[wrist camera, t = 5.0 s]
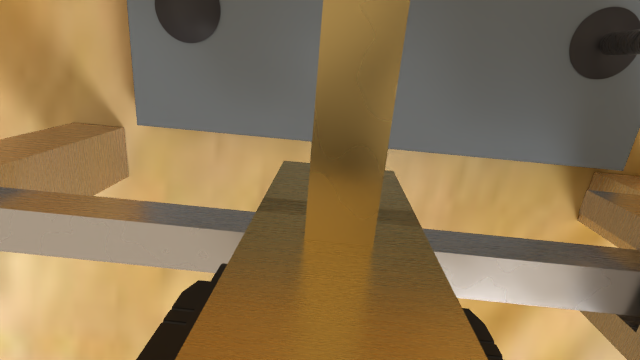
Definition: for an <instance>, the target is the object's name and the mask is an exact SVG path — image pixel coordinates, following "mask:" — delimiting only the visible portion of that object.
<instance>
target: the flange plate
mask: <svg viewBox="0 0 640 360" xmlns="http://www.w3.org/2000/svg"><path fill="white" fill-rule="evenodd" d="M127 8H128V20H129V32H130V44H131V56H132V68H133V80H134V92H135V104H136V116H137V125H143V126H154V127H164V128H175V129H185V130H196V131H207V132H217V133H228V134H238V135H249V136H260V137H270V138H281V139H291V140H302V141H312V135H313V123H314V110H315V97H316V85H317V72H318V59H319V47H320V34H321V22H322V9H323V0H127ZM638 29H640V0H410V6H409V12H408V19H407V25H406V32H405V39H404V45H403V52H402V59H401V65H400V72H399V78H398V85H397V92H396V98H395V105H394V111H393V118H392V125H391V131H390V138H389V144H388V149H397V150H408V151H418V152H429V153H439V154H450V155H461V156H471V157H482V158H492V159H503V160H514V161H524V162H535V163H545V164H556V165H567V166H577V167H588V168H598V169H609V170H619V171H623V170H624V167H625V165H626V162H627V159H628V157H629V154H630V151H631V149H632V146H633V144H634V141H635V138H636V136H637V133H638V130H639V128H640V55H604V54H603V53H602V52H601V51H600V42H601V40H602V39H603V37H604V36H605V35H607V34H609V33H611V32H620V31H629V30H638Z"/></svg>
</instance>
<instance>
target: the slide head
mask: <svg viewBox="0 0 640 360" xmlns="http://www.w3.org/2000/svg"><path fill="white" fill-rule="evenodd" d="M409 6H410V0H323V9H322V22H321V34H320V47H319V59H318V72H317V85H316V97H315V110H314V123H313V135H312V148H311V161H310V163H302V162H291V161H284V162H283V164H282V166H281V167H280V169H279V171H278V173H277V175H276V177H275V178H274V180H273V182H272V184H271V186H270V188H269V189H268V191H267V193H266V195H265V197H264V198H263V200H262V202H261V204H260V206H259V208H258V209H257V211H256V213H255V215H254V217H253V218H252V220H251V222H250V224H249V226H248V228H247V229H246V231H245V233H244V235H243V237H242V239H241V240H240V242H239V244H238V246H237V248H236V249H235V251H234V253H233V255H232V257H231V259H230V260H229V262H228V264H227V266H226V268H225V269H224V271H223V273H222V275H221V277H220V279H219V280H218V282H217V284H216V286H215V288H214V289H213V291H212V293H211V295H210V297H209V299H208V300H207V302H206V304H205V306H204V308H203V310H202V311H201V313H200V315H199V317H198V319H197V320H196V322H195V324H194V326H193V328H192V330H191V331H190V333H189V335H188V337H187V339H186V340H185V342H184V344H183V346H182V348H181V350H180V351H179V353H178V355H177V357H176V359H175V360H488V359H487V357H486V355H485V353H484V351H483V349H482V347H481V345H480V343H479V341H478V339H477V337H476V335H475V333H474V331H473V329H472V327H471V325H470V323H469V321H468V319H467V317H466V315H465V313H464V311H463V309H462V307H461V305H460V303H459V301H458V299H457V297H456V295H455V293H454V291H453V289H452V287H451V285H450V283H449V281H448V279H447V277H446V275H445V273H444V271H443V269H442V267H441V265H440V263H439V261H438V259H437V257H436V255H435V253H434V251H433V249H432V247H431V245H430V243H429V241H428V239H427V237H426V235H425V233H424V231H423V229H422V227H421V225H420V223H419V221H418V219H417V217H416V215H415V213H414V211H413V209H412V207H411V205H410V203H409V202H408V200H407V198H406V196H405V194H404V192H403V190H402V188H401V186H400V184H399V182H398V180H397V178H396V176H395V174H394V172H393V171H385V164H386V158H387V151H388V144H389V138H390V131H391V125H392V118H393V111H394V105H395V98H396V92H397V85H398V78H399V72H400V65H401V59H402V52H403V45H404V39H405V32H406V25H407V19H408V12H409Z"/></svg>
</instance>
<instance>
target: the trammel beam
mask: <svg viewBox="0 0 640 360" xmlns="http://www.w3.org/2000/svg"><path fill="white" fill-rule="evenodd" d="M600 51H601V52H602V53H603V54H604V55H640V29H638V30H629V31H620V32H611V33H609V34H607V35H605V36H604V37H603V39H602V40H601V42H600ZM127 177H128V167H127V156H126V146H125V135H124V128H123V127H112V126H102V125H91V124H80V123H70V124H65V125H61V126H57V127H52V128H48V129H44V130H39V131H35V132H31V133H26V134H22V135H17V136H13V137H9V138H4V139H0V251H5V252H15V253H25V254H35V255H44V256H54V257H64V258H74V259H83V260H93V261H103V262H113V263H122V264H132V265H142V266H152V267H161V268H171V269H181V270H191V271H200V272H210V273H216V272H217V270H218V268H219V267H220V265H221V264H222V263H225V264H228V262H229V260H230V259H231V257H232V255H233V253H234V251H235V249H236V248H237V246H238V244H239V242H240V240H241V239H242V237H243V235H244V233H245V231H246V229H247V228H248V226H249V224H250V222H251V220H252V218H253V217H254V215H255V213H256V212H249V211H239V210H229V209H219V208H209V207H199V206H188V205H178V204H168V203H158V202H148V201H138V200H128V199H118V198H107V197H97V196H94V195H96V194H97V193H99V192H101V191H103V190H105V189H107V188H108V187H110V186H112V185H114V184H116V183H118V182H119V181H121V180H123V179H125V178H127ZM579 213H580V215H579V218H578V221H579V222H581V223H582V224H584V225H585V226H587V227H588V228H590V229H591V230H593V231H594V232H596V233H597V234H599V235H600V236H602V237H603V238H605V239H606V240H608V241H609V242H611V243H612V244H614V245H615V246H617V247H619V248H613V247H603V246H593V245H583V244H573V243H563V242H553V241H543V240H532V239H522V238H512V237H502V236H492V235H482V234H472V233H462V232H452V231H441V230H431V229H423V231H424V233H425V235H426V237H427V239H428V241H429V243H430V245H431V247H432V249H433V251H434V253H435V255H436V257H437V259H438V261H439V263H440V265H441V267H442V269H443V271H444V273H445V275H446V277H447V279H448V281H449V283H450V285H451V287H452V289H453V291H454V293H455V295H456V297H457V298H464V299H473V300H483V301H493V302H503V303H512V304H522V305H532V306H542V307H551V308H561V309H571V310H579V311H580V312H581V313H582V314H583V315H584V316H585V317H586V318H587V319H588V320H589V321H590V322H591V323H592V324H593V325H594V326H595V327H596V328H597V329H598V330H599V331H600V332H601V333H602V334H603V335H604V336H605V337H606V338H607V339H608V340H609V341H610V342H611V344H612V345H613V346H614V347H615V348H616V349H617V350H618V351H619V352H620V353H621V354H622V355H623V356H624V357H625V358H626V359H627V360H640V176H630V175H619V174H609V173H598V172H594V175H593V178H592V181H591V184H590V187H589V189H588V190H587V191H586V194H585V197H584V200H583V203H582V206H581V208H580V211H579Z"/></svg>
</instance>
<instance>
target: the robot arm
mask: <svg viewBox="0 0 640 360" xmlns="http://www.w3.org/2000/svg"><path fill="white" fill-rule="evenodd" d="M226 266H227V264H225V263H222V264H221V265H220V267H219V268H218V270H217V272H216V273H215V275H214V277H213V279H212V280H211V282H209V281H197V282H196V283H194V284H193V285H191V286H190V287H189V288H187V289H186V290H184V291H183V292H182V293H181V295H180V296H179V298H178V299H177V301H176V302H175V303H174V305H173V306H172V310H170V311H169V312H168V314H167V315H166V317H165V318H164V320H163V323H161V324H160V326H159V327H158V328H157V330H156V331H155V333H154V334H153V336H152V337H151V339H150V340H149V342H148V343H147V345H146V346H145V348H144V349H143V351H142V352H141V354H140V355H139V356H138V358H137V359H136V360H175V359H176V357H177V355H178V353H179V351H180V350H181V348H182V346H183V344H184V342H185V340H186V339H187V337H188V335H189V333H190V331H191V330H192V328H193V326H194V324H195V322H196V320H197V319H198V317H199V315H200V313H201V311H202V310H203V308H204V306H205V304H206V302H207V300H208V299H209V297H210V295H211V293H212V291H213V289H214V288H215V286H216V284H217V282H218V280H219V279H220V277H221V275H222V273H223V271H224V269H225V268H226ZM462 309H463V311H464V313H465V315H466V317H467V319H468V321H469V323H470V325H471V327H472V329H473V331H474V333H475V335H476V337H477V339H478V341H479V343H480V345H481V347H482V349H483V351H484V353H485V355H486V357H487V359H488V360H503V359H502V354H501V353H500V351H499V349H498V347H497V345H494V340H493V338H492V336H491V335H490V333H489V331H488V329H487V327H486V326H485V324H484V323H483V322H482V321H481V320H480V319H479V318H478V317H477V316H476V315H474V314H473V313H472V312H471V311H470V310H469V309H466V308H462Z"/></svg>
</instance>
